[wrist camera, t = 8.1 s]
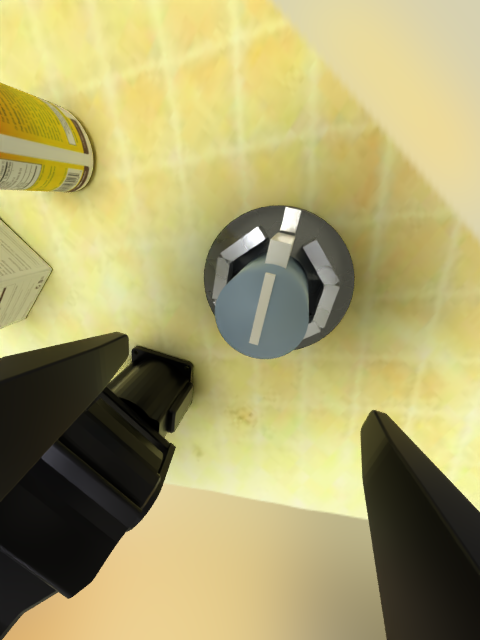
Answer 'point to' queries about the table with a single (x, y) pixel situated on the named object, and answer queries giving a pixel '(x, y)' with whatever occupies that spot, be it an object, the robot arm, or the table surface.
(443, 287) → the table surface
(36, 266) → the supplement box
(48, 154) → the supplement bottle
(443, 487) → the robot arm
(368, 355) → the table surface
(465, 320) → the table surface
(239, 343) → the knob
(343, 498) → the table surface
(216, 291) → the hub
